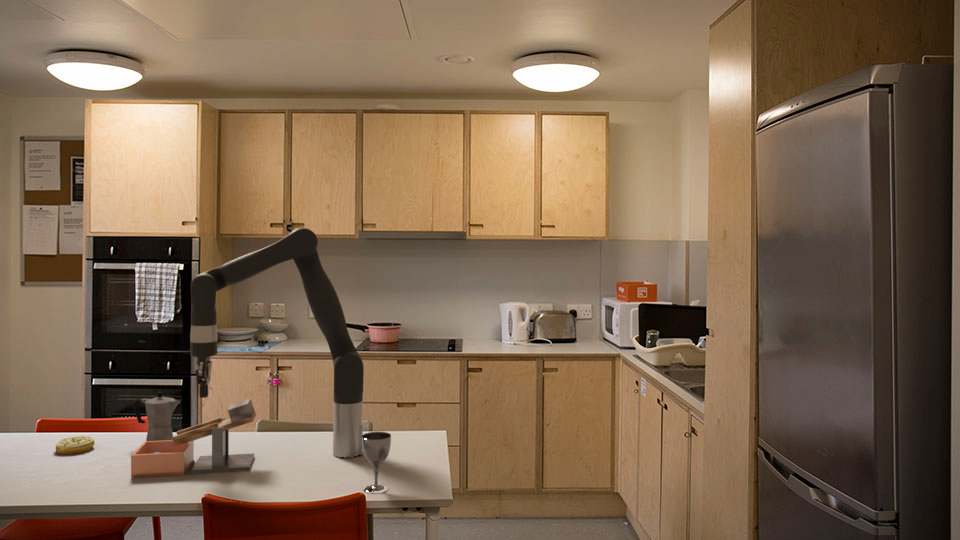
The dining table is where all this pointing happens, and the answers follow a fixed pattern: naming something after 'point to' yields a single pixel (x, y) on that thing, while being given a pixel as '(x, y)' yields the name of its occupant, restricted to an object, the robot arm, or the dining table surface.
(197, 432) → the lever
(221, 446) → the lever stand
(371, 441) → the wine glass
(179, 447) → the cup
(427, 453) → the dining table surface
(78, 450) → the decorated donut
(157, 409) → the coffeepot
